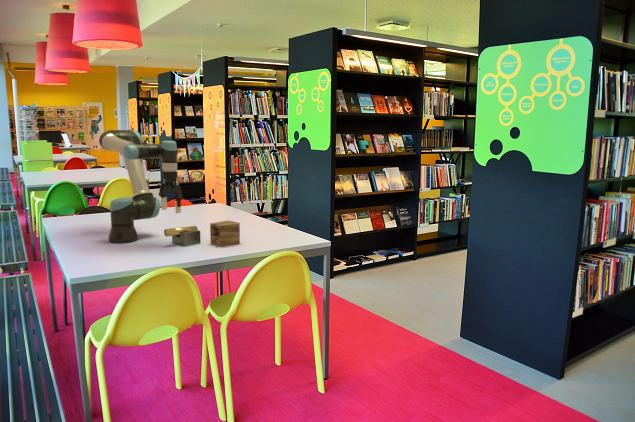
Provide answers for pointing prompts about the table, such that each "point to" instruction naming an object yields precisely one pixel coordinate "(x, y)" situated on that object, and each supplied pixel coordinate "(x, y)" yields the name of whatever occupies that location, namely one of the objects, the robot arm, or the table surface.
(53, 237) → the table surface
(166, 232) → the axle
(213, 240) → the wooden cube block
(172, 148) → the robot arm
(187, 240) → the v block
